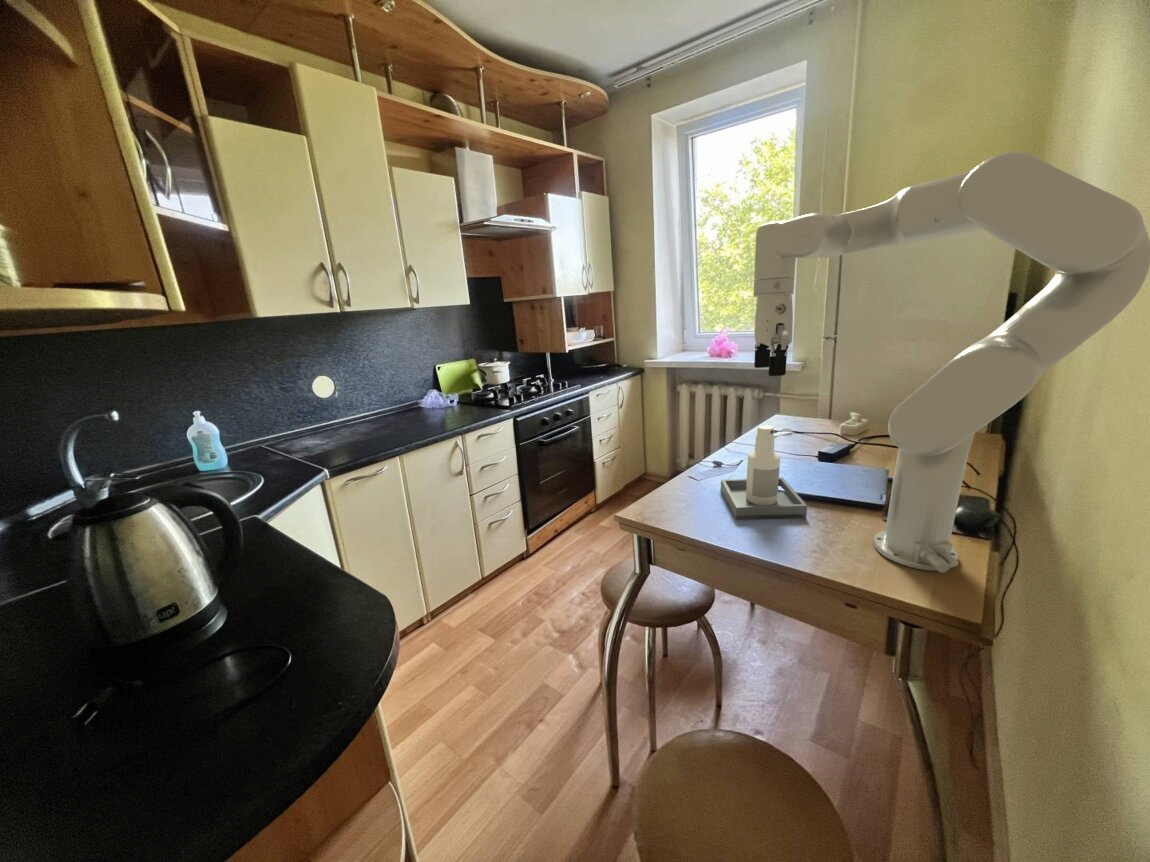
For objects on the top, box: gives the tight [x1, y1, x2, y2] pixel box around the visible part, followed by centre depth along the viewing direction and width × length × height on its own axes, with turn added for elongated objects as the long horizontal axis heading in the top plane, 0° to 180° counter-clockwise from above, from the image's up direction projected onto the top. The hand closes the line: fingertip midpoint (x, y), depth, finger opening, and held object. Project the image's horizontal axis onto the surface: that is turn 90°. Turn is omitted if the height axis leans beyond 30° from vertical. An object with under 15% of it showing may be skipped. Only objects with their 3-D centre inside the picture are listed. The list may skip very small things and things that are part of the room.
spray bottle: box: [746, 424, 781, 505], centre depth 103 cm, size 7×7×18 cm
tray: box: [720, 477, 808, 521], centre depth 106 cm, size 15×15×3 cm
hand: (769, 371), depth 97 cm, fingers open, 9 cm apart
